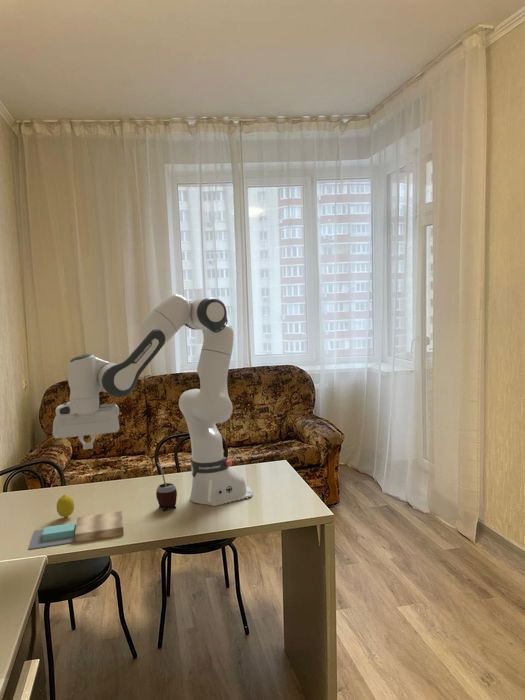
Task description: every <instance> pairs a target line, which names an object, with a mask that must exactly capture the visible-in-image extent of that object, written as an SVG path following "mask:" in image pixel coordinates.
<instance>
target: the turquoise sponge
mask: <svg viewBox="0 0 525 700" xmlns="http://www.w3.org/2000/svg"><path fill="white" fill-rule="evenodd" d="M75 524H76V522H71V523H64V524H57V525H50V526H44V528H43V529H44V531H43V535H42V536H43V541H48V540H54V539H61V538H67V537H74V536H75Z"/></svg>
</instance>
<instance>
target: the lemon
mask: <svg viewBox="0 0 525 700" xmlns="http://www.w3.org/2000/svg"><path fill="white" fill-rule="evenodd" d="M74 510H75V502H74V500H73V497H71V496H69V495H67V494H63V495H62V496H60V497H59V499H57V502H56V512H57V514H58V515H59V516H61V517H62V518H64V519H67V518H68V517H70V516H71V515H72V514H73V513H74Z"/></svg>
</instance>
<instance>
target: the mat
mask: <svg viewBox="0 0 525 700" xmlns="http://www.w3.org/2000/svg"><path fill="white" fill-rule="evenodd" d="M75 530H76V523H75ZM43 531H44V528H42V529H37V530H36V529H35V530H34V531H33V534H32V537H31V541H30V543H29V547H28V550H36V549H42V548H49V547H56V546H61V545H68V544H69V545H70V544H74V543H76V542H75V536H74V537H67V538H61V539H54V540H48V541H43V536H42V535H43Z"/></svg>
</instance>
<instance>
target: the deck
mask: <svg viewBox="0 0 525 700" xmlns="http://www.w3.org/2000/svg"><path fill="white" fill-rule="evenodd" d="M75 524H76V530H75V543H81V542H88V541H94V540H99V539H100V540H101V539H105V538H106V539H107V538H113V537H119V536H124V535H125V532H124V531H125V530H124V522H123V512H122V510H120V511H119V510H118V511H113V512H105V513H101V514H91V515H86V516H78V517H77V518H76V522H75Z"/></svg>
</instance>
